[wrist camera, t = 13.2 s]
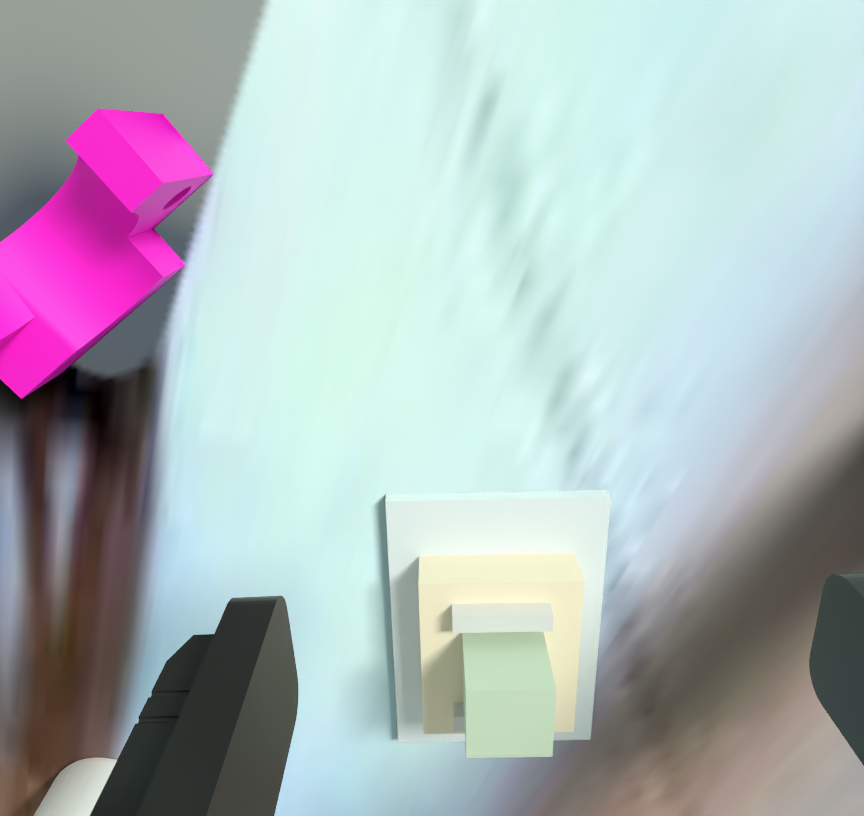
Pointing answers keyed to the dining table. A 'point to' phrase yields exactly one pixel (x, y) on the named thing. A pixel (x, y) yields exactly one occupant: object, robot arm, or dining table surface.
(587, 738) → the base
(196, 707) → the robot arm
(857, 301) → the dining table surface
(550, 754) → the sage cube
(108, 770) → the mug
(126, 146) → the toy block
